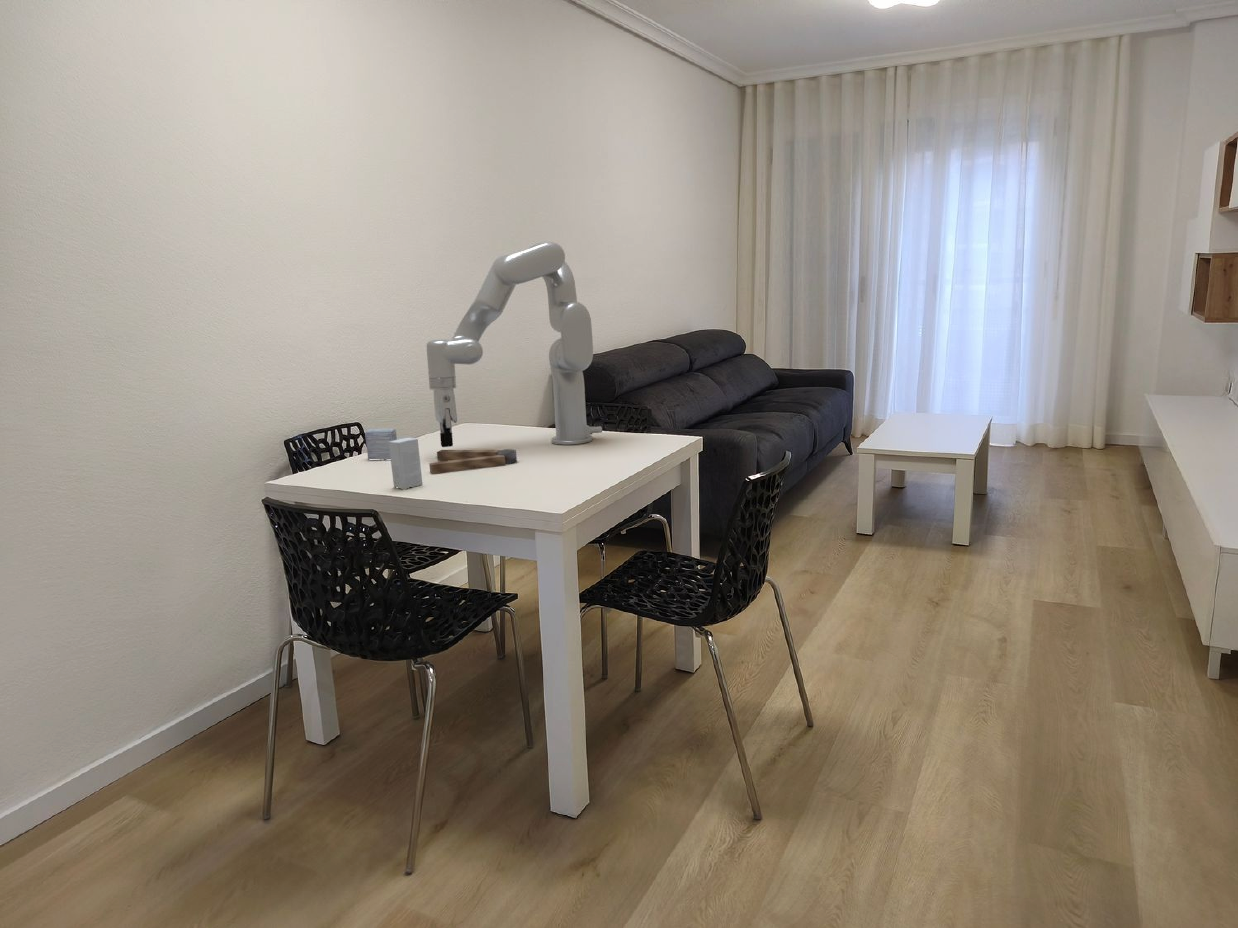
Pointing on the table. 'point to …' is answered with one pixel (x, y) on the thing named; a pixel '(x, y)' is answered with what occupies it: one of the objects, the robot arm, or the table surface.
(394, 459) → the skincare box
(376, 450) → the medicine box
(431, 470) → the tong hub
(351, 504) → the table surface
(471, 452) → the bar
